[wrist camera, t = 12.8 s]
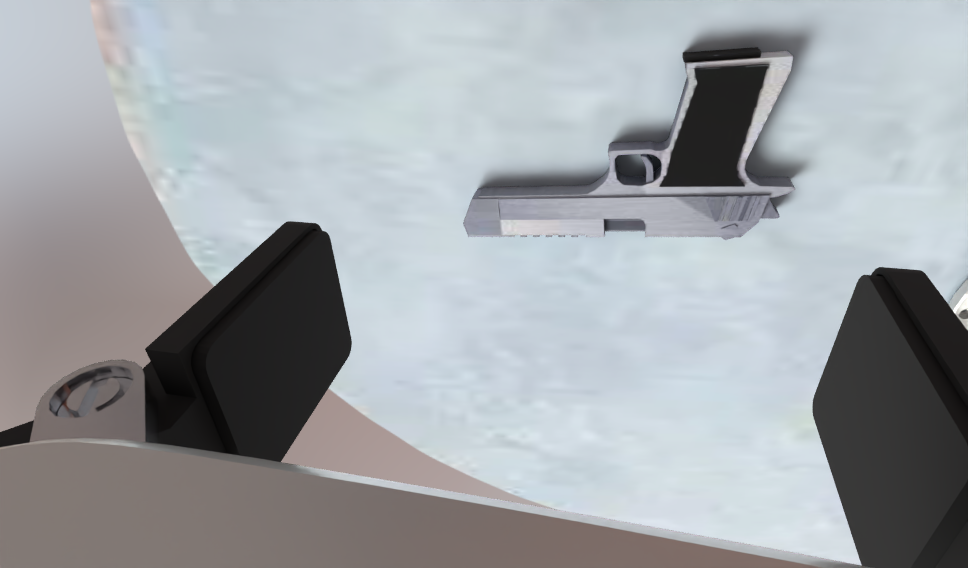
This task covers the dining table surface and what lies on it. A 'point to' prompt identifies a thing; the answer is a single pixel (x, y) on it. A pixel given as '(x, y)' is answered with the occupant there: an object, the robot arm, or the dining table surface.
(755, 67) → the handgun
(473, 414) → the dining table surface
